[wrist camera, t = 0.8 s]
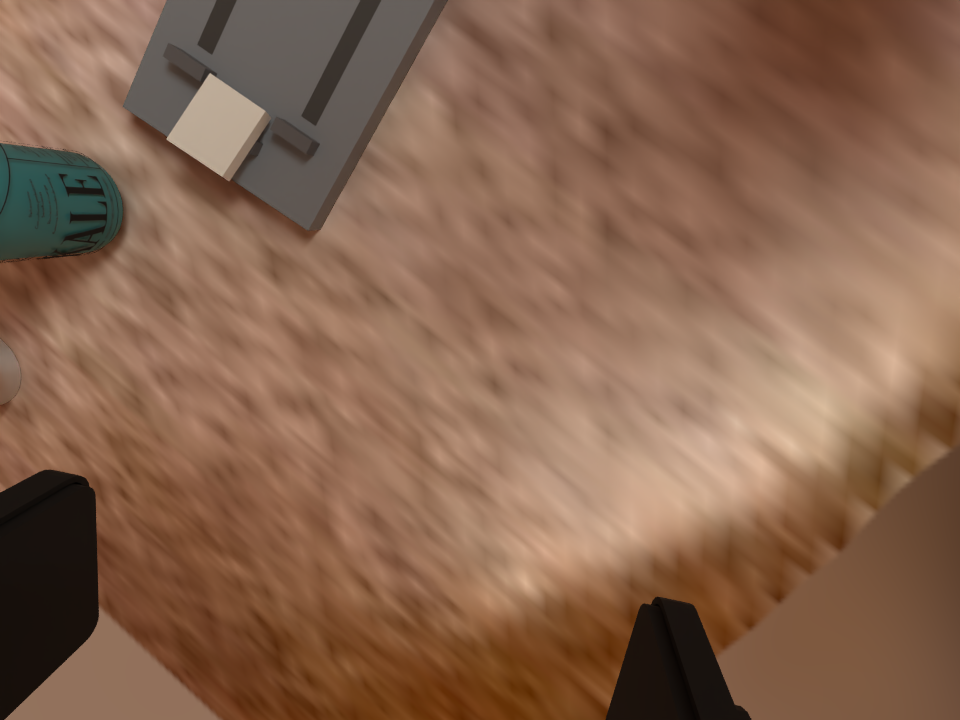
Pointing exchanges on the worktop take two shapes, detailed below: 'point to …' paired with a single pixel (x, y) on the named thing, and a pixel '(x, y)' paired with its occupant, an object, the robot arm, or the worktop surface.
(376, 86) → the panel
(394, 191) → the worktop surface
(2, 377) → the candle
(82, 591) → the robot arm
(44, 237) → the beverage bottle
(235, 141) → the block
